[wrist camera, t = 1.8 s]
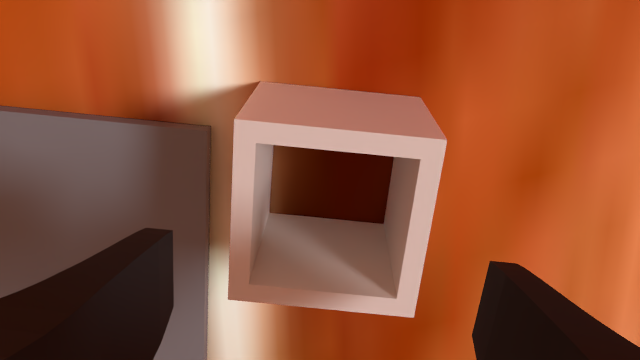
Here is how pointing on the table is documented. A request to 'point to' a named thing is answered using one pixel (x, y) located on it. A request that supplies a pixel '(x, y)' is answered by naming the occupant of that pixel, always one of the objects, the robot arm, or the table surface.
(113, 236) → the duct board
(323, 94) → the collar
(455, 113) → the table surface
